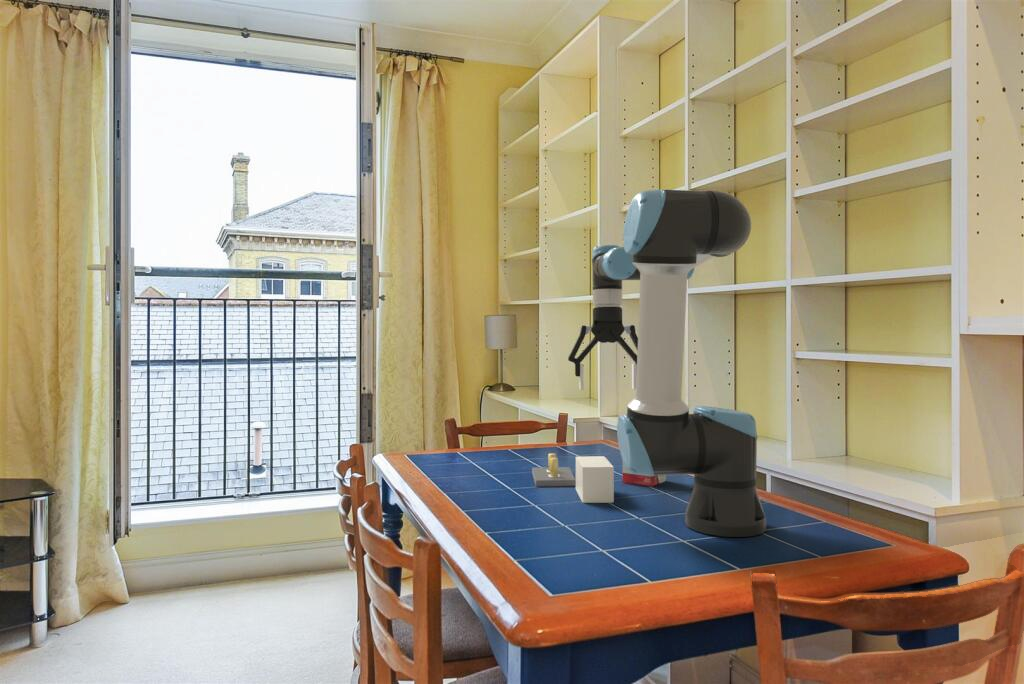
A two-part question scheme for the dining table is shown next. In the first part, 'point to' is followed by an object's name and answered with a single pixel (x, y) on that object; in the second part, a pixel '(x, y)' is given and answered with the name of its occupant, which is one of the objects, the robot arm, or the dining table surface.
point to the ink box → (641, 478)
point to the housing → (594, 479)
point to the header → (553, 474)
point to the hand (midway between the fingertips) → (607, 389)
